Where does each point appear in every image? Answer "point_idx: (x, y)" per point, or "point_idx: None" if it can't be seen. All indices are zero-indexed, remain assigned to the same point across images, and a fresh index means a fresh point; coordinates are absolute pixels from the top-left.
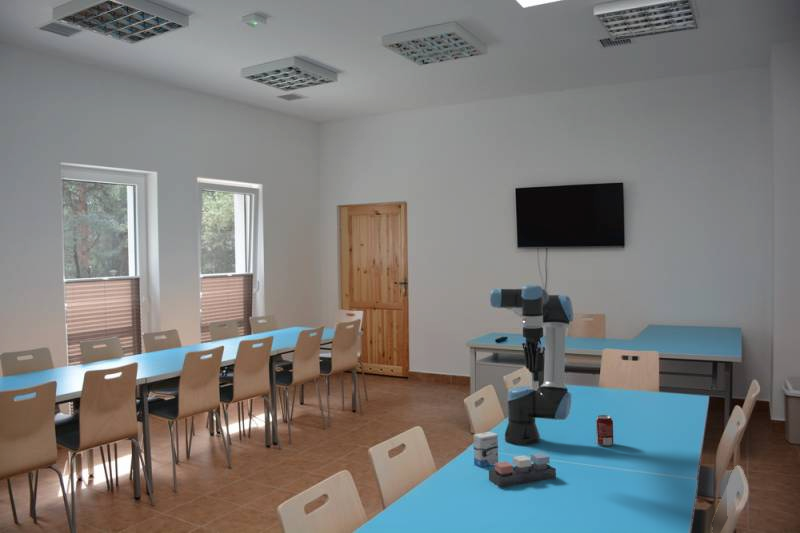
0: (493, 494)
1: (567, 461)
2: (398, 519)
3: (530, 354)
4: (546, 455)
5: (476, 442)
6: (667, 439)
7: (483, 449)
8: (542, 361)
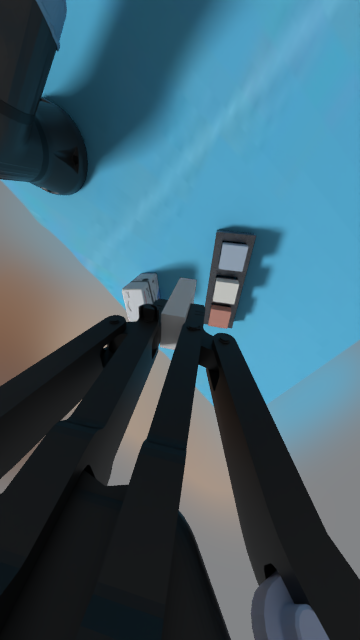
0: (242, 336)
1: (198, 143)
2: None
3: (115, 450)
4: (240, 247)
5: None
6: None
7: None
8: (263, 403)
